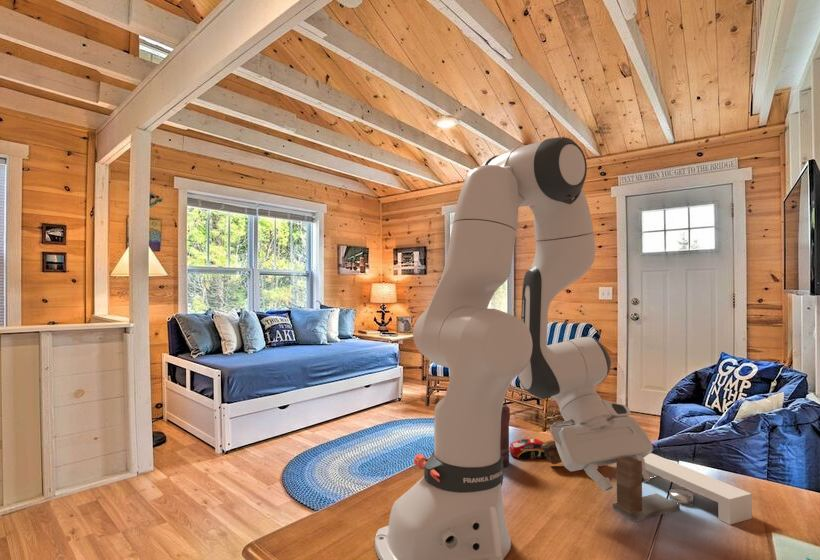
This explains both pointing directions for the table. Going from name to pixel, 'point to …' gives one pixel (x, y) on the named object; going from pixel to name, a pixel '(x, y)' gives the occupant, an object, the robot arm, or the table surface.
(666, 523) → the table surface
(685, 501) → the steel bowl
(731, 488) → the low shelf
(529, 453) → the race car
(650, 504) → the brown l-shaped block
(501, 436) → the can
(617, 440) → the robot arm
